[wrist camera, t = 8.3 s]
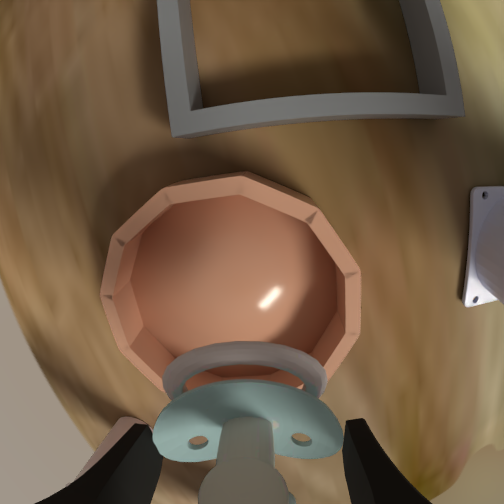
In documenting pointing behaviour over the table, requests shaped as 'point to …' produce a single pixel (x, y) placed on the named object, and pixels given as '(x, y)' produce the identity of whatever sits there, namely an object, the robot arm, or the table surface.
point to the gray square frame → (318, 105)
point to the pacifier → (245, 420)
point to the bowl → (230, 278)
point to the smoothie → (110, 441)
